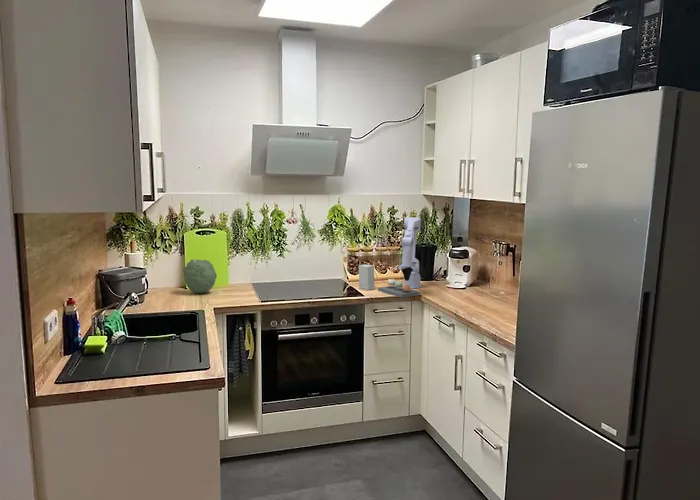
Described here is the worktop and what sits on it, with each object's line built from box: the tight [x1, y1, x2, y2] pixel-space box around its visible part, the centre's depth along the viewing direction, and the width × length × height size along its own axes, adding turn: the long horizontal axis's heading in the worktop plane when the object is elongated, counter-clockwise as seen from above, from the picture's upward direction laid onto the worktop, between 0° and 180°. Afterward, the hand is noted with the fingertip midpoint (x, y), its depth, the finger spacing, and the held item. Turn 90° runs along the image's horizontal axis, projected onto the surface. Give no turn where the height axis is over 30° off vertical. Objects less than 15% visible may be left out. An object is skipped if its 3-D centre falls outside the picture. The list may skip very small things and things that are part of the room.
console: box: [377, 285, 421, 299], centre depth 302 cm, size 14×22×2 cm, turn 34°
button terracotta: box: [403, 284, 410, 292], centre depth 296 cm, size 4×4×3 cm
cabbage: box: [182, 259, 218, 294], centre depth 293 cm, size 16×19×20 cm
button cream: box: [387, 278, 396, 286], centre depth 307 cm, size 4×4×3 cm
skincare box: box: [358, 263, 375, 291], centre depth 311 cm, size 8×6×15 cm
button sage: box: [395, 280, 404, 287], centre depth 301 cm, size 4×4×3 cm
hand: (406, 280), depth 295 cm, fingers closed
